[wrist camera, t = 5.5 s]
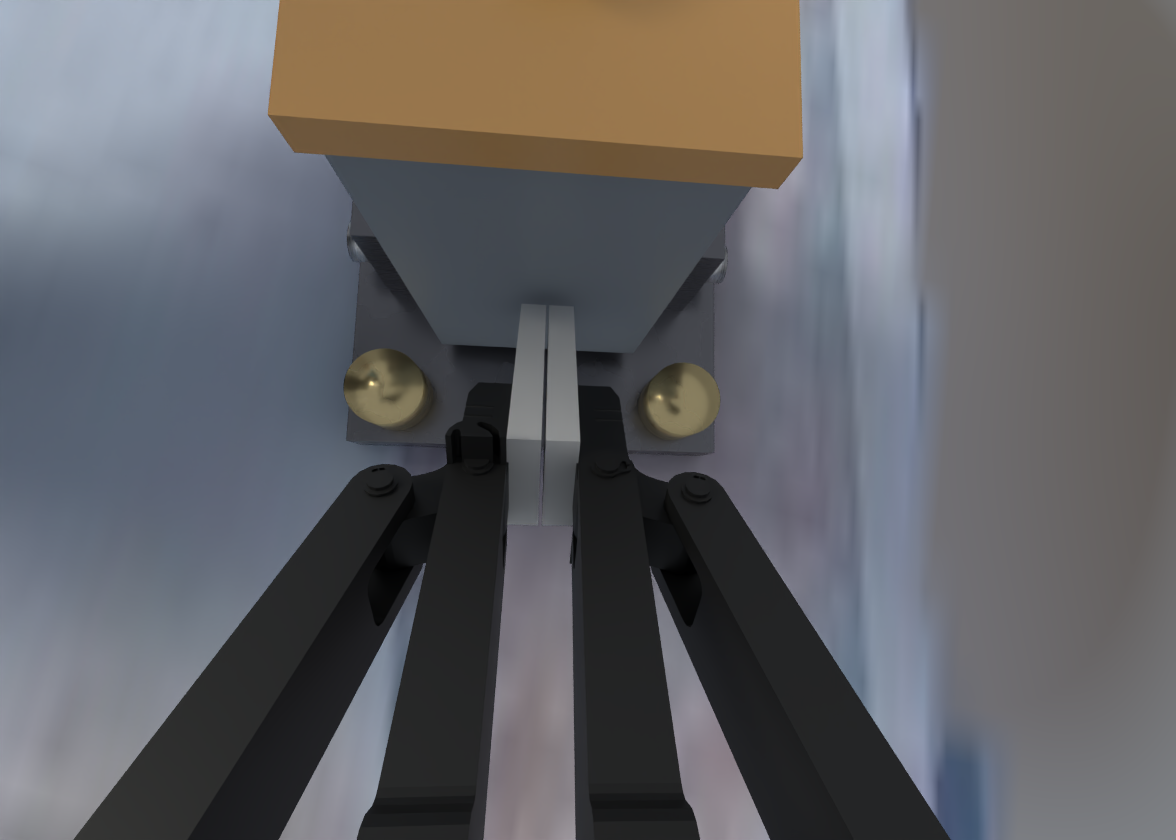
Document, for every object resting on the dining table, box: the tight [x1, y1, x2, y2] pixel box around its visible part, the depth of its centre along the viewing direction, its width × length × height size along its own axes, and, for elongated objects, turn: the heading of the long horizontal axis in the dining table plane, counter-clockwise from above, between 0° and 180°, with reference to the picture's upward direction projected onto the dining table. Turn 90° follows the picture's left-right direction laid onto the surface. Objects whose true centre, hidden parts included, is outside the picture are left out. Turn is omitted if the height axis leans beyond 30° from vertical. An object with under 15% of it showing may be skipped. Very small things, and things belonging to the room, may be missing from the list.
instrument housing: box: [268, 0, 803, 353], centre depth 17 cm, size 11×9×16 cm
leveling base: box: [344, 201, 728, 455], centre depth 24 cm, size 16×16×8 cm
